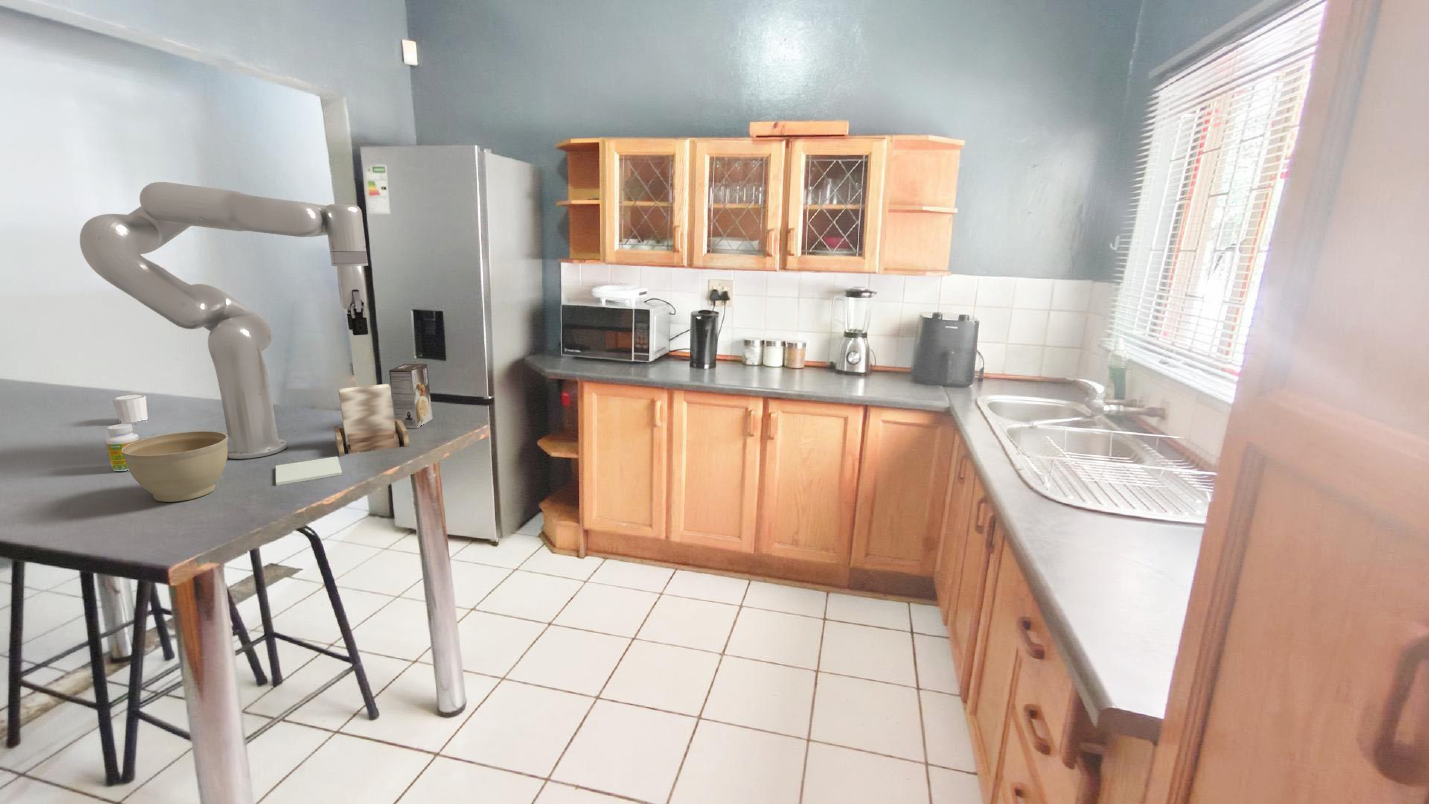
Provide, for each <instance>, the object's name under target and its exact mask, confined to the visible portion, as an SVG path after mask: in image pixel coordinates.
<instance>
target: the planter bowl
mask: <svg viewBox="0 0 1429 804" xmlns="http://www.w3.org/2000/svg"><path fill="white" fill-rule="evenodd" d="M227 442H228V437H227V433H224V432H220V431H214V430H212V431H211V430H196V431H194V430H193V431H182V432H174V433H167V434H166V433H164V434H160V435H155V436H151V437H146V438H143V439H140V440H139V441H136V442H133V443H130V444H128V445H126V446H125V447H123V448H122V450H121V452H122V455H123V457H124V458H125V461H126V464H127V467H128V469H129V471H128V472H129V473H130V474H131V476H132V478H133V479H134V480H135V482H137V483H138V484H139V486H141V487H142V489H144V490H145V491H147V492H148V493H151V494H152V497H153V499H154V500H156V501H157V502H163V503H168V502H169V503H171V502H172V503H173V502H174V503H175V502H183V501H188V500H193V499H196V498H200V497H203V496H205V495H208V494H210V493H211V492H213V491H214V490H215V489H216V482H217V481H218V480H219V479H220V477H221V475H222V473H223V471H224V470H225V467H226V464H227V461H228V458H227V455H228V448H227Z"/></svg>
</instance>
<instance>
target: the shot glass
mask: <svg viewBox="0 0 1429 804" xmlns="http://www.w3.org/2000/svg"><path fill="white" fill-rule="evenodd" d="M111 400H112V403H113V405H114V409H115V412H116V414H117V416H118V417H117V418H118V420H119V422H120V421H121V422H137V421H141V420H147V419H148V408H147V407H148V405H147V396H146V395H145V394H139V393H138V394H126V395H121V396H117V397H114V398H112V399H111ZM148 420H149V419H148Z"/></svg>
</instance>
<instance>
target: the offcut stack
mask: <svg viewBox="0 0 1429 804" xmlns="http://www.w3.org/2000/svg"><path fill="white" fill-rule="evenodd" d="M347 437H348V442H349V444H348V445H347V446H346V448H347V451H348V455H350V454H351V455H352V454H353V455H354V454H358V453H357V452H360V453H366V452H372V451H371V450H374V451H377V450H376V449H381V450H388V449H395V448H400V438H399V436H398V435H397V433H394V432H393V430H392V429H387V430H379V431H371V432H363V433H356V434H348V435H347Z"/></svg>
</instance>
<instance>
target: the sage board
mask: <svg viewBox="0 0 1429 804" xmlns="http://www.w3.org/2000/svg"><path fill="white" fill-rule="evenodd" d="M338 457H339V456H331V457H325V458H318V459H313V460H305V461H298V462H291V463H285V464H277V465H275V484H276V485H275V486H282V485H287V484H289V485H290V484H295V483H301V482H306V481H312V480H313V481H315V480H319V479H324V478H332V477H337V476H342V475H343V470H342V468H341V463H340V459H339V458H338Z"/></svg>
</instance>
